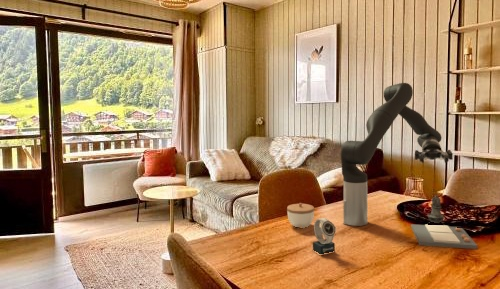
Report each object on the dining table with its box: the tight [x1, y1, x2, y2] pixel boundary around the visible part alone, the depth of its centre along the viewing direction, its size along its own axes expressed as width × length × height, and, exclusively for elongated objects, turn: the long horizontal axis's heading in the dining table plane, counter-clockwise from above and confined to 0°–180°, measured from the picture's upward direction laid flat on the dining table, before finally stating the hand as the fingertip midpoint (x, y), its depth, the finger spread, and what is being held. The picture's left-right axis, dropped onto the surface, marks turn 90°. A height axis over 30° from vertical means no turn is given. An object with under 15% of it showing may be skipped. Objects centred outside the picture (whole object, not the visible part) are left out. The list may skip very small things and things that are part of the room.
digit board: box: [410, 223, 478, 250], centre depth 125 cm, size 17×18×2 cm
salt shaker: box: [427, 194, 445, 223], centre depth 137 cm, size 6×6×12 cm
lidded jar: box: [286, 202, 315, 229], centre depth 141 cm, size 11×11×9 cm
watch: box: [312, 217, 336, 254], centre depth 115 cm, size 6×8×11 cm
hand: (434, 160), depth 145 cm, fingers open, 8 cm apart
